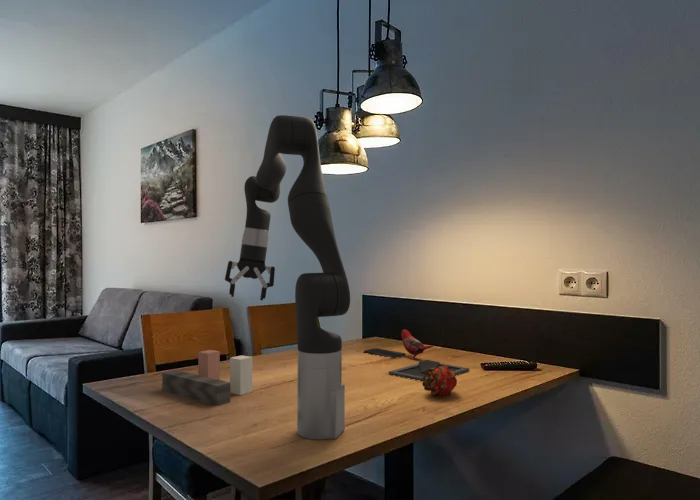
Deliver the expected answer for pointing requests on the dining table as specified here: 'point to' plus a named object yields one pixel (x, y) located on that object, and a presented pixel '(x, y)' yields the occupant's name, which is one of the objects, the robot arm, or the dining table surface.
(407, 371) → the picture frame
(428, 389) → the dragon fruit
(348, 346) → the dining table surface
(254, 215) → the robot arm
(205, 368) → the brick key
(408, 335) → the decorative bird figurine
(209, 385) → the switch board
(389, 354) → the phone
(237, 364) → the cream key
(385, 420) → the dining table surface
